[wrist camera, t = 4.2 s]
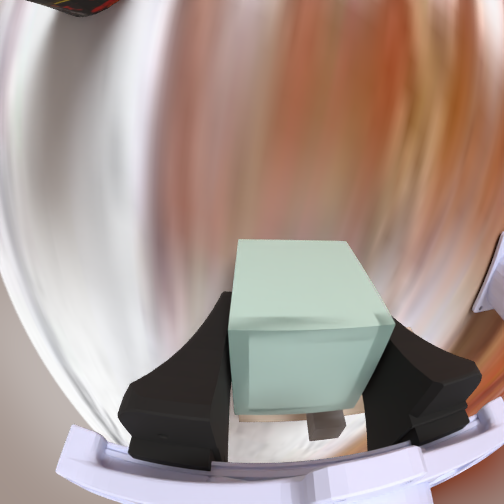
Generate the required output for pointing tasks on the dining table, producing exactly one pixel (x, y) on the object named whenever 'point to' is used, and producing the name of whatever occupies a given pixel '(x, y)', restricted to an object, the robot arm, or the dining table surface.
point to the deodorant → (77, 6)
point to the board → (299, 416)
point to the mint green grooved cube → (302, 327)
